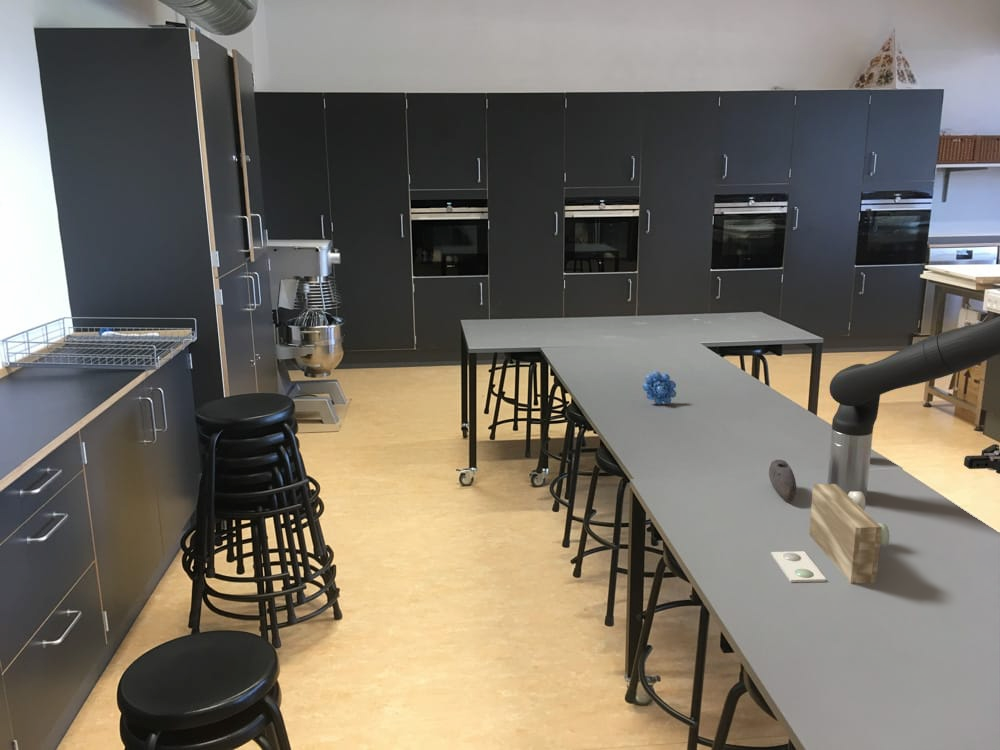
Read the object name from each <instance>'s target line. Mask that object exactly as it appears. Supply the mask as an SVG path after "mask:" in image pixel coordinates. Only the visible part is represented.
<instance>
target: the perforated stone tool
mask: <svg viewBox="0 0 1000 750" xmlns="http://www.w3.org/2000/svg"><path fill="white" fill-rule="evenodd" d="M768 477H769V480H770V483H771V486H772V488H773V489H774V490H775V492H776V493H777V494H778V496H780V497H781V498H782V499H783V500H784V501H786V502H792V501H793V500H794V499H795V497H796V493H797V482H796V477H795V474H794V471H793V469H792V467H791V466H790V465H789V463H788V462H787V461H785V460H783V459H775V460H773V461H771V463H770V465H769V470H768Z"/></svg>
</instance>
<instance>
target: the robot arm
mask: <svg viewBox="0 0 1000 750" xmlns="http://www.w3.org/2000/svg"><path fill="white" fill-rule="evenodd" d="M999 355H1000V315H998V316H996V317H994V318H992V319H989V320H987V321H983V322H981V323H980V322H979V323H976V324H970V325H966V326H960V327H957V328H953V329H950V330H947V331H943V332H940V333H938V334H937V333H936V334H935V335H932V336H930V337H926V338H924V339H921V340H919V341H916V342H914V343H913V344H910V345H908V346H906V347H905V348H903V349H901V350H899V351H897V352H894V353H893V354H890V355H888V356H887V357H885V358H883V359H880V360H877V361H875V362H872V363H867V364H866V363H855V364H852V365H850V366H847V367H845V368H843V369H841V370H840V371H838V372H837V373H836V374H835V375H833V378H831V380H830V383H829V394H830V396H831V397H832V399H833V400H834V401H835V402H836V403H837V404H839V405H838V408H837V410H836V412H835V413H834V416H833V417H832V423H831V432H830V433H831V434H830V447H829V458H828V470H827V471H828V472H827V480H826V481H827V482H826V484H837V485H838V486H839V487H840V488H841V489H842V490H843V491H844V492H845V493H846V494H847V495H848V494H849V492H854V491H861V492H862V493H863V494H864V497H865V500H867V495H868V485H869V476H870V465H871V464H870V463H871V456H872V455H871V454H872V446H873V444H872V442H873V432H874V426H875V422H876V421H877V419H878V413H879V407H880V406H879V405H880V399H881V395H883V394H886V393H888V392H891V391H894V390H897V389H902V388H906V387H910V386H915V385H919V384H923V383H927V382H931V381H934V380H938V379H941V378H944V377H947V376H950V375H953V374H956V373H957V374H958V373H959V372H963V371H965V370H968V369H969V368H970V369H971V368H972V367H975V366H977V365H979V364H982V363H984V362H986V361H988V360H990V359H992V358H994V357H997V356H999ZM963 466H964V467H966V469H970V470H980V469H981V470H983V469H985V470H986V469H987V470H989V471H995V473H996V474H999V475H1000V445H999V444H995V443H994V444H991V445H990V446H988V447H986V448H984V449H982V450H981V454H980V455H979V454H978V455H965V457H964V460H963Z"/></svg>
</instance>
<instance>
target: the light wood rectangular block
mask: <svg viewBox="0 0 1000 750" xmlns="http://www.w3.org/2000/svg"><path fill="white" fill-rule="evenodd" d="M811 496H812V497H811V506H810V507H811V508H810V518H809V519H810V520H809V533H808V534H809V535H810V537H811V539H813V540H814V541H815V543H816V544H817V545H818V547H819V548H820V549H821V550H822V551H823V552H824V554H825V555H826V556H827V557H828V558H829V559H830V561H831V562H832V563H833V564H834V566H835V567H836V568H837V569H838V570H839V572H840V573H841V574H842V575H843V576H844V577H845V579H846V580H847V581H848V583H850V584H875V583H877V577H878V576H877V575H878V565H879V557H880V556H879V555H880V538H881V528H882V527H881V526H880V525H879V524H878V523H879V522H877V521H876V520H875V519H874V518H872V516H871V515H869V514H868V513H867V512H866V510H863V509H862V508H861V507H860V506H859V505H858V504H857V503H856V502H854V501H853V500H852V499H851V498H850V497H849V496H848V495H847V494H846V493H845V492H844V491H843V490H842V489H841V488H840V487H839V486H838V485H837V484H827V483H825V484H822V483H821V484H819V483H818V484H813V485H812V494H811Z"/></svg>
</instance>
